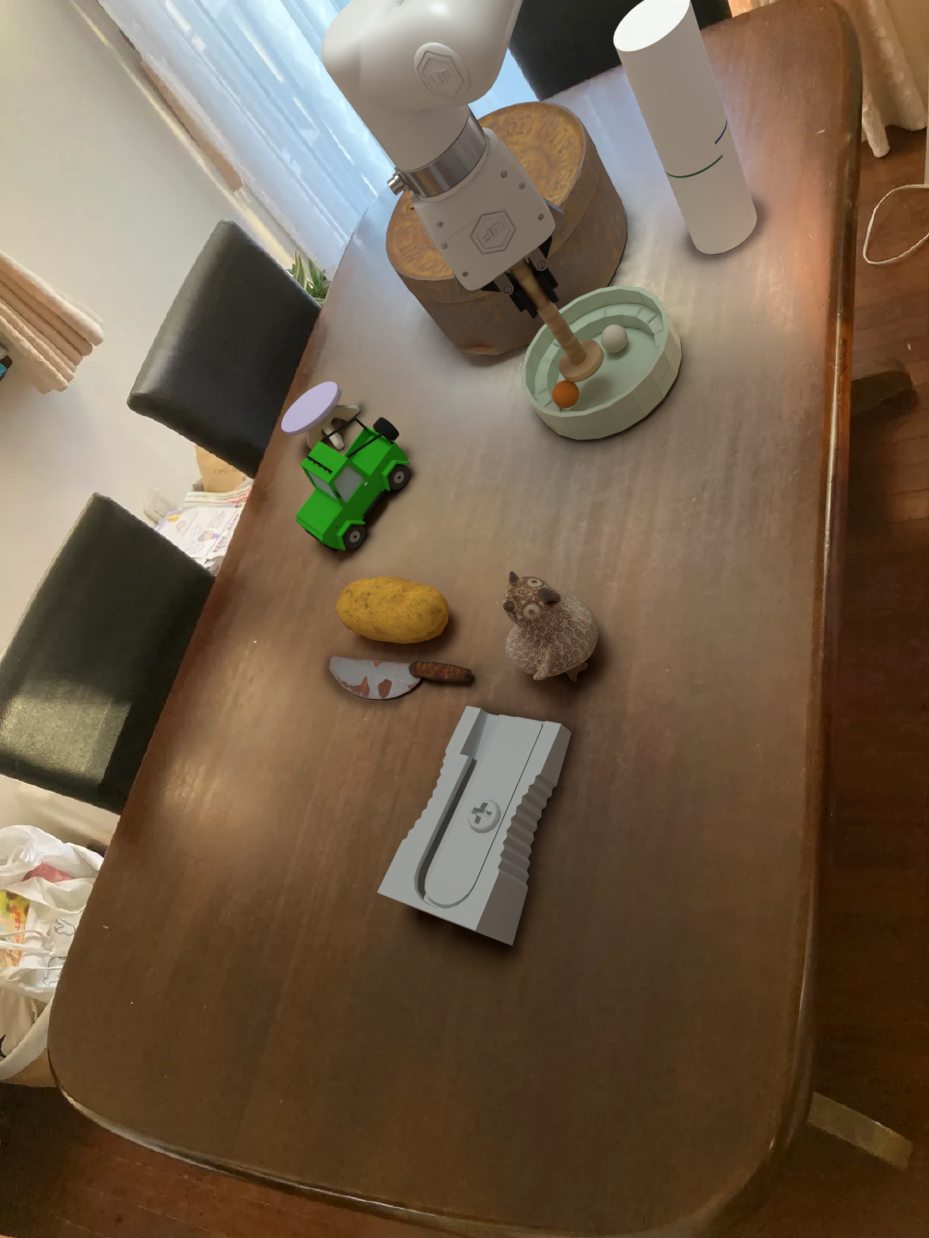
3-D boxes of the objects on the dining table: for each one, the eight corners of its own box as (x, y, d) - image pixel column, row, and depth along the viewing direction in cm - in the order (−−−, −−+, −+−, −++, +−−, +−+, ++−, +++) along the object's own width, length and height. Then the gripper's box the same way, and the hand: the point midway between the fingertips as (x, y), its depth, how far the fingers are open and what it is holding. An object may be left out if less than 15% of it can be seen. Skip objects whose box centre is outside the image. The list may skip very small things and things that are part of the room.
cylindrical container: (769, 206, 92) (705, -14, 72) (734, 258, 91) (660, 50, 72) (715, 201, 96) (641, -8, 77) (681, 250, 96) (599, 52, 77)
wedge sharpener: (417, 909, 79) (374, 899, 74) (478, 713, 85) (442, 691, 79) (512, 945, 73) (473, 938, 68) (571, 731, 78) (539, 708, 73)
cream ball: (629, 322, 93) (608, 316, 92) (636, 342, 92) (615, 336, 90) (613, 341, 95) (592, 335, 94) (619, 361, 94) (599, 355, 93)
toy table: (309, 468, 116) (281, 446, 112) (306, 423, 121) (280, 399, 116) (365, 437, 112) (338, 412, 108) (360, 391, 117) (334, 366, 113)
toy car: (315, 538, 109) (263, 500, 102) (393, 435, 110) (346, 389, 102) (349, 564, 104) (296, 526, 96) (430, 455, 104) (384, 408, 96)
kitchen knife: (316, 689, 97) (326, 649, 98) (326, 692, 98) (336, 652, 99) (457, 712, 84) (467, 664, 85) (466, 715, 86) (476, 668, 87)
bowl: (647, 290, 96) (632, 259, 92) (708, 382, 86) (694, 351, 82) (523, 374, 101) (503, 348, 97) (567, 469, 92) (548, 444, 88)
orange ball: (567, 370, 90) (551, 390, 89) (588, 388, 90) (573, 408, 90) (558, 380, 93) (543, 400, 92) (579, 397, 93) (564, 417, 92)
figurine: (617, 694, 77) (549, 633, 66) (526, 704, 82) (447, 650, 71) (617, 607, 81) (552, 536, 70) (529, 622, 86) (455, 558, 74)
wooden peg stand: (613, 351, 88) (548, 245, 77) (584, 387, 88) (516, 287, 77) (581, 341, 92) (515, 239, 81) (554, 376, 92) (484, 279, 81)
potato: (376, 588, 100) (340, 562, 94) (472, 599, 91) (438, 571, 86) (356, 642, 98) (317, 619, 92) (451, 659, 89) (415, 635, 84)
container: (496, 397, 101) (432, 311, 90) (414, 306, 119) (352, 224, 108) (677, 239, 97) (634, 129, 86) (564, 169, 115) (516, 70, 104)
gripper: (377, 235, 70) (487, 370, 84) (534, 109, 65) (623, 274, 79) (363, 192, 74) (469, 327, 88) (508, 71, 69) (597, 234, 83)
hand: (541, 301), depth 83 cm, fingers closed on wooden peg stand
